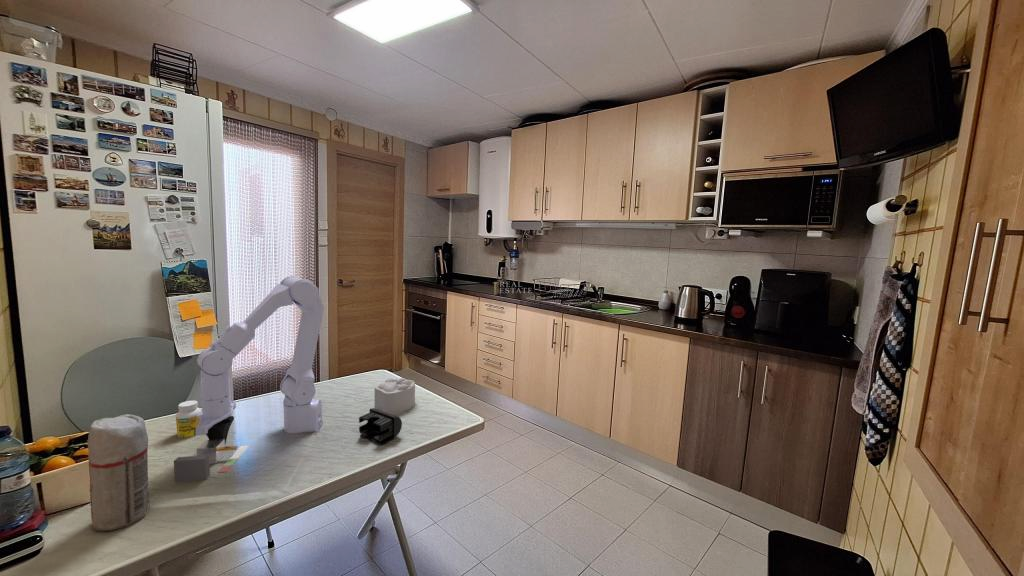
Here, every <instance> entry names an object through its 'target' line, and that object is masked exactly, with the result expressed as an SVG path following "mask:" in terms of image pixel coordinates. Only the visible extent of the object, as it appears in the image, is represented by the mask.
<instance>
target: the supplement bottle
mask: <svg viewBox="0 0 1024 576" xmlns="http://www.w3.org/2000/svg"><path fill="white" fill-rule="evenodd" d="M198 406H199V404H198V401H197V400H186V401H183V402H180V403H179V404H178V412H177V413H176V415H175V421H176V422H175V423H176V433H177V438H180V439H187V438H188V439H189V438H192V437H195V436H196V437H197V435H196V427H197V426H198V424H199V422H200V419H201V418H197V415H198V414H199V413H201V412H202V408H200V407H198Z"/></svg>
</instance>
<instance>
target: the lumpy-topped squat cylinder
mask: <svg viewBox="0 0 1024 576" xmlns="http://www.w3.org/2000/svg"><path fill="white" fill-rule="evenodd" d="M415 400H416V382H415V381H414V380H412V379H409V378H408V379H406V378H404V377H400V378H398V379H397V378H395V379H394V378H392V377H389V378H387V379H385V381H384V382H381V383H379V384H377V385H375V386H374V409H377V410H380V411H383V412H386V413H389V414H391V415H397V414H399V413H403V412H405V411H408V410H410V409H412V408H413V407H414V406H415V403H416V401H415Z"/></svg>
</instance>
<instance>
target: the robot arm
mask: <svg viewBox="0 0 1024 576" xmlns="http://www.w3.org/2000/svg"><path fill="white" fill-rule="evenodd" d="M319 292H320V289H319V288H318V287H317V286H316V285H315V283H313V282H312V281H311V280H309V279H304V278H299V277H298V276H294V275H293V276H292V275H291V276H286V277H284V278H283V279H282V280H281V281H280V283H278V284H276V285H275V286H274V287H273V288H272V289H271V291H270V292H269V293H268V294H267V296H266V297H265V298H264V299H263V300H261V302H260V303H259V304H258V305H257V306H256V307H255V308H254V309H253V311H252V312H250V314H249V315H247V317H246V318H245V319H244V320H243V321H240V322H239V321H238V322H234V323H233V324H232V325H227V326H226V327H225V328H224V330H225V332H224V333H222V335H220V336H219V337H218V338H217V339H216V341H214V342H210V344H208V346H209V347H208V348H205V349H203V350H202V351H201V352H200V353H199V354H198V356H197V359H196V360H195V361H196V364H197V366H198V367H200V382H199V383H200V393H201V394H200V397H201V413H199V414H198V415H197V418H201V419H200V422H199V424H198V426H197V427H196V436H203V435H205V436H207V438H208V440H215V439H225V445H226V443H227V439H228V436H229V435H228V434H229V431H230V429H231V426H232V424H233V422H234V420H235V416H233V411H234V410H235V409H236V408H237V401H236V400H232V399H231V397H232V396H231V379H230V369H231V368H232V366H233V363H234V362H233V359H234V358H236V357H237V355H239V354H240V353H241V352H242V351H243V350H244V349H245V348H246V347H247V346H248V344H250V343H251V342H252V340H254V339H255V338H256V329H257V328H259V327H260V326H261V325H262V324H263V323H264V322H265V321H266V320H267V319H269V317H271V316H272V315H273V314H274V313H275V312H276V311H277V310H278V309H279V308H281V307H287V306H292V305H294V304H295V306H296V307H298V309H300V310H301V315H300V320H299V325H298V331H297V337H296V341H295V346H294V350H293V351H294V352H293V355H292V360H291V365H290V367H289V368H287V370H286V373H285V375H284V378H283V379H282V380H281V382H280V385H279V389H280V392H281V393H282V394H283V395H284V399H283V401H282V403H283V404H282V405H283V428H284V429H283V430H284V432H285V433H288V434H300V433H306V432H309V433H310V432H315V433H314V435H313V436H314V437H315V436H317V434H318V432H319V430H320V428H321V427H322V425H323V423H324V422H323V405H322V400H321V399H316V398H315V395H316V387H315V380H316V378H315V374H314V371H313V365H314V360H315V355H316V350H317V344H318V340H319V335H320V329H321V324H322V321H323V320H322V319H323V315H324V304H323V302H322V298H321V296H320V293H319Z"/></svg>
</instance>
